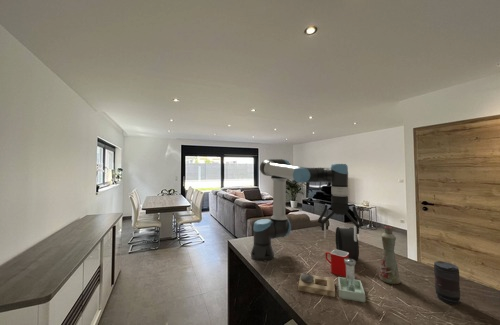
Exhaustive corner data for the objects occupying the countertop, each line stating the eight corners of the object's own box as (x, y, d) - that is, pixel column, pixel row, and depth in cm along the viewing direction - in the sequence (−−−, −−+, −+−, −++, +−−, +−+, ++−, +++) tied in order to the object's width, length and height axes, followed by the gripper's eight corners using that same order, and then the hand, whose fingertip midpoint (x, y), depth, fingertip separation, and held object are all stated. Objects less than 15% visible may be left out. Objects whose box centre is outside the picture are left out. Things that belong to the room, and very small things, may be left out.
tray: (339, 298, 91) (339, 289, 91) (338, 284, 103) (338, 276, 103) (365, 302, 88) (365, 294, 88) (360, 287, 99) (360, 280, 99)
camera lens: (430, 294, 93) (428, 261, 94) (446, 294, 94) (445, 260, 95) (448, 306, 85) (447, 269, 86) (466, 305, 86) (464, 268, 87)
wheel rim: (359, 267, 121) (358, 232, 121) (342, 265, 122) (341, 231, 123) (350, 253, 140) (349, 224, 141) (335, 252, 142) (335, 223, 143)
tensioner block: (298, 290, 97) (298, 281, 98) (301, 277, 109) (301, 269, 109) (335, 297, 92) (334, 287, 92) (333, 283, 103) (333, 274, 103)
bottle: (401, 287, 99) (399, 228, 101) (379, 282, 104) (377, 226, 105) (399, 279, 107) (397, 224, 108) (379, 275, 112) (377, 222, 113)
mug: (350, 272, 115) (349, 252, 115) (345, 277, 109) (344, 257, 109) (328, 265, 123) (328, 247, 123) (323, 270, 117) (322, 251, 117)
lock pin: (345, 293, 94) (344, 261, 94) (344, 287, 98) (343, 257, 99) (357, 295, 92) (356, 263, 93) (355, 289, 97) (354, 259, 97)
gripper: (312, 194, 102) (312, 238, 101) (370, 197, 93) (370, 244, 93) (313, 193, 109) (313, 233, 108) (366, 195, 100) (367, 239, 100)
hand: (339, 239), depth 101 cm, fingers open, 13 cm apart
